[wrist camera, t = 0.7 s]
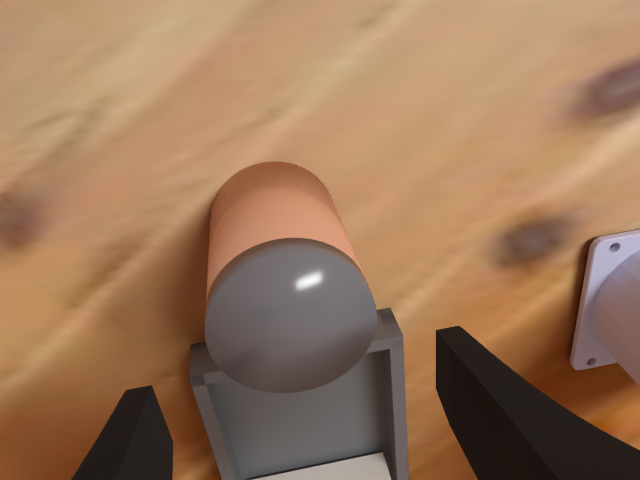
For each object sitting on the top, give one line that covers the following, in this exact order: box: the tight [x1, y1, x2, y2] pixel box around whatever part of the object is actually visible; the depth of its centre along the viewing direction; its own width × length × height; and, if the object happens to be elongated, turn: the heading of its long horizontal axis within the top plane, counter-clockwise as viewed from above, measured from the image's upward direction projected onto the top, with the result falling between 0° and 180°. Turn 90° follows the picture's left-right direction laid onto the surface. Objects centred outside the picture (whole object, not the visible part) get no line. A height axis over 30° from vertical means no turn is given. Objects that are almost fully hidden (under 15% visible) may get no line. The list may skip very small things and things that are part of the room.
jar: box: [205, 162, 377, 393], centre depth 18 cm, size 5×5×7 cm
